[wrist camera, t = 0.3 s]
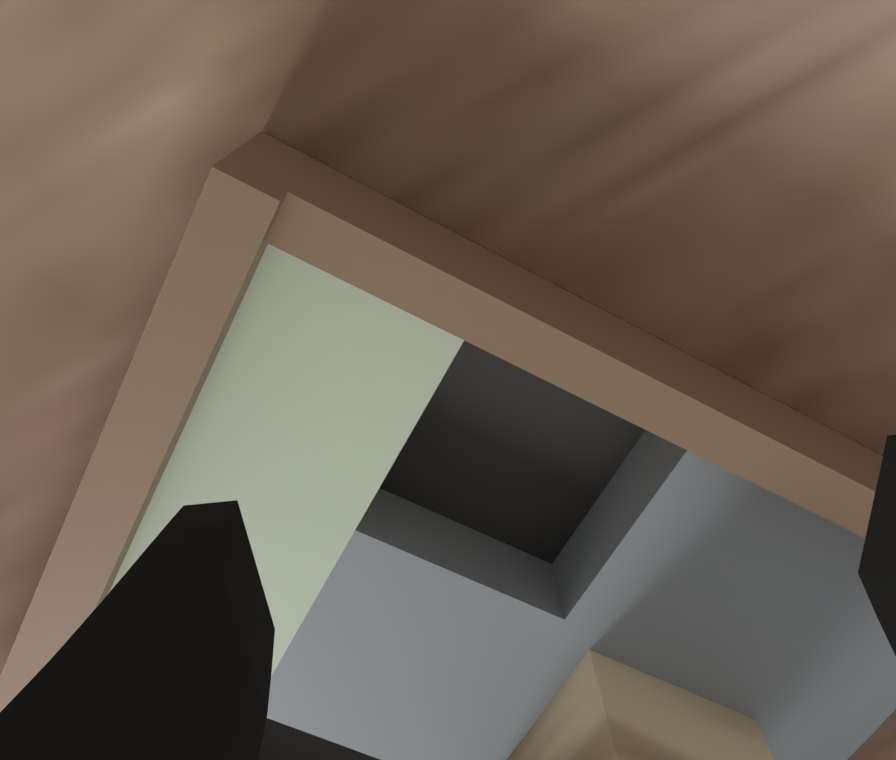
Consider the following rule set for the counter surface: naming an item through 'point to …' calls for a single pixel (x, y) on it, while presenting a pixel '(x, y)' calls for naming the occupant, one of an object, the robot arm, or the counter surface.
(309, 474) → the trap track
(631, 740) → the wood block
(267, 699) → the robot arm
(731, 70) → the counter surface
